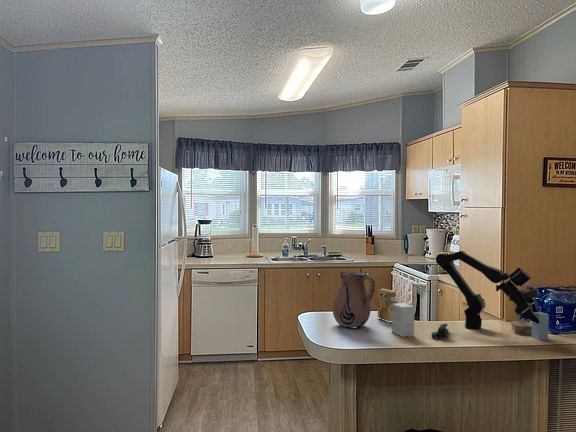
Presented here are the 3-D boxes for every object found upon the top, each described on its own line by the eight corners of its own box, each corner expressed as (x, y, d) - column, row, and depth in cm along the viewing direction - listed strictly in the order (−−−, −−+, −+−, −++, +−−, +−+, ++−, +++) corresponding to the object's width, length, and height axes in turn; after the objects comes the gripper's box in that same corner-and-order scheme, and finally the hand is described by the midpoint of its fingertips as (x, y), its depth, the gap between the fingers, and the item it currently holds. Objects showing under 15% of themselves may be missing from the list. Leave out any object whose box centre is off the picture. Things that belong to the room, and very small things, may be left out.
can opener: (446, 342, 189) (447, 328, 189) (429, 339, 192) (430, 326, 192) (454, 332, 204) (454, 320, 204) (438, 330, 207) (438, 318, 207)
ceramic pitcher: (343, 319, 223) (344, 269, 223) (383, 326, 211) (384, 273, 210) (325, 326, 209) (326, 273, 209) (366, 334, 197) (367, 277, 196)
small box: (414, 336, 196) (414, 306, 196) (401, 337, 194) (402, 307, 193) (403, 331, 203) (404, 302, 203) (391, 332, 201) (392, 303, 201)
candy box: (396, 322, 220) (396, 291, 220) (389, 323, 218) (390, 291, 218) (382, 318, 228) (383, 288, 227) (376, 319, 225) (377, 288, 225)
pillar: (538, 340, 193) (539, 314, 193) (531, 337, 198) (532, 312, 198) (548, 339, 194) (548, 314, 194) (540, 337, 198) (541, 312, 198)
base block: (514, 334, 203) (515, 325, 203) (511, 329, 212) (511, 321, 212) (537, 336, 201) (537, 327, 200) (532, 331, 209) (533, 322, 209)
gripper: (523, 284, 191) (553, 313, 185) (530, 279, 206) (558, 306, 200) (503, 300, 196) (531, 329, 190) (511, 294, 211) (538, 321, 205)
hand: (540, 321), depth 196 cm, fingers open, 9 cm apart
